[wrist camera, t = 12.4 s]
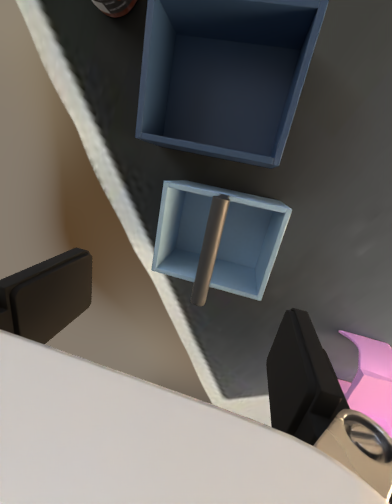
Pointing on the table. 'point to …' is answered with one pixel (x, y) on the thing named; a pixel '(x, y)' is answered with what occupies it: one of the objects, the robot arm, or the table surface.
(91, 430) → the robot arm
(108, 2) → the supplement bottle
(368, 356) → the toy chair
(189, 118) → the navy bin
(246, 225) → the light blue bin
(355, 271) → the table surface
